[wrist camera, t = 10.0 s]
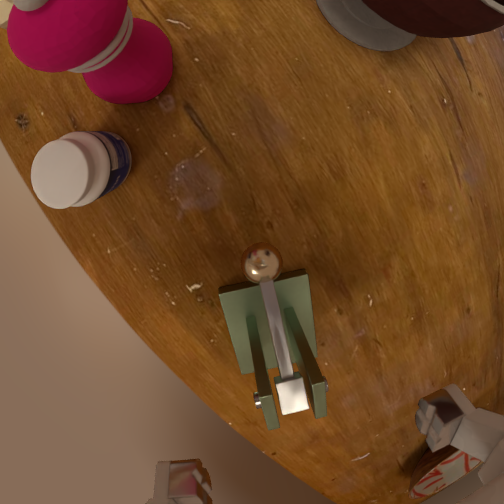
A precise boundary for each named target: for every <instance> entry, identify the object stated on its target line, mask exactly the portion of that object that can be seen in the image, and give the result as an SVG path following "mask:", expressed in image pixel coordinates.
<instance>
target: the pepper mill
mask: <svg viewBox="0 0 504 504" xmlns="http://www.w3.org/2000/svg"><path fill="white" fill-rule="evenodd" d="M13 3H14V4H13V6H12V9H11V11H10V14H9V18H8V25H7V34H8V41H9V44H10V47H11V49H12V51H13V52H14V54H15V56H16V57H17V58H18V59H19V60H20V61H21V62H22V63H24V64H25V65H27V66H28V67H30V68H33V69H35V70H40V71H45V72H62V71H66V70H68V71H71V72H76V73H82V74H83V77H84V79H85V82H86V84H87V86H88V87H89V88H90V90H91V91H92V92H93V93H94V94H95V95H97V96H98V97H100V98H102V99H103V100H105V101H108V102H111V103H115V104H128V103H140V102H145V101H148V100H150V99H152V98H154V97H156V96H157V95H158V94H160V93H161V92H162V91H163V90H164V88H165V87H166V86H167V84H168V83H169V81H170V79H171V76H172V71H173V62H172V47H171V44H170V41H169V40H168V38H167V36H166V35H165V34H164V33H163V32H162V30H161V29H160V28H158V27H157V26H156V25H155V24H153V23H151V22H149V21H146V20H142V19H139V18H133V17H132V12H131V10H130V8H129V7H128V5H127V4H128V3H127V0H13Z"/></svg>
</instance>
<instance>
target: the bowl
mask: <svg viewBox="0 0 504 504" xmlns="http://www.w3.org/2000/svg"><path fill="white" fill-rule="evenodd" d="M480 462H481V460H479V459H477V458H475V457H473V456H471V455H469V454H467V453H465V452H463V451H461V450H460V449H458V448H456V447H454V446H452V445H450V444H449V445H447V446H445V447H443V448H441V449H439V450H437V451H435V452H432V451H431V449H430V448H428V450H427V451H426V452H425V454H424V455H423V457H422V458H421V460H420V461H419V463H418V464H417V466H416V468H415V470H414V472H413V474H412V477H411V481H410V487H409V498H411V499H418V498H422V497H426V496H428V495H431V494H434V493H436V492H438V491H440V490H442V489H444V488H446V487H448V486H449V485H451V484H453V483H454V482H456V481H457V480H459V479H460V478H462V477H463V476H464V475H466V474H467V473H468V472H470V471H471V470H472V469H473V468H474V467H476V466H477V465H478V464H479V463H480Z"/></svg>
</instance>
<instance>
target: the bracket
mask: <svg viewBox="0 0 504 504" xmlns="http://www.w3.org/2000/svg"><path fill="white" fill-rule="evenodd" d="M273 282H274V287H275V291H276V295H277V300H278V304H279V308H280V313H281V317H282V322H283V326H284V331H285V335H286V339H287V344H288V348H289V353H290V357H291V362H292V363H297V366H298V369H299V372H300V374H301V376H302V377H303V381H304V385H305V389H306V392H307V395H308V398H309V401H310V404H311V407H312V410H313V412H314V415H315V418H316V419H318V418H321V417H325V416H327V406H326V392H328V384H327V380H326V378H325V376H322V374H321V371H320V369H319V367H318V364H317V362H316V360H315V357H318V356H317V346H316V337H315V328H314V319H313V310H312V302H311V294H310V286H309V278H308V274H307V272H306V270H305V269H301V270H297V271H292V272H288V273H284V274H279V276H278V277H277V278H276V279H275V280H274V281H273ZM219 297H220V301H221V305H222V308H223V312H224V315H225V319H226V322H227V326H228V329H229V333H230V336H231V340H232V343H233V346H234V350H235V353H236V356H237V360H238V363H239V366H240V370H241V373H242V374H247V373H252V372H255V378H256V384H257V389H258V392H255V393H253V395H254V400H255V405H256V408H257V409H258V408H262V410H263V414H264V417H265V420H266V424H267V427H268V430H272V429H277V428H280V424H279V420H278V416H277V411H276V407H275V402H274V398H273V393H272V389H271V384H270V380H269V375H268V371H267V369H271V368H275V367H278V364H277V360H276V356H275V351H274V347H273V342H272V338H271V333H270V329H269V325H268V320H267V316H266V311H265V307H264V302H263V298H262V294H261V289H260V285H259V284H257V283H254V282H252V281H248V282H244V283H239V284H235V285H230V286H225V287H221V288H219Z"/></svg>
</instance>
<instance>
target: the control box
mask: <svg viewBox="0 0 504 504" xmlns="http://www.w3.org/2000/svg"><path fill="white" fill-rule="evenodd" d="M13 4H14V3H13V0H0V27H2V28H4V29H7V25H8V18H9V14H10V11H11V9H12V6H13Z"/></svg>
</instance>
